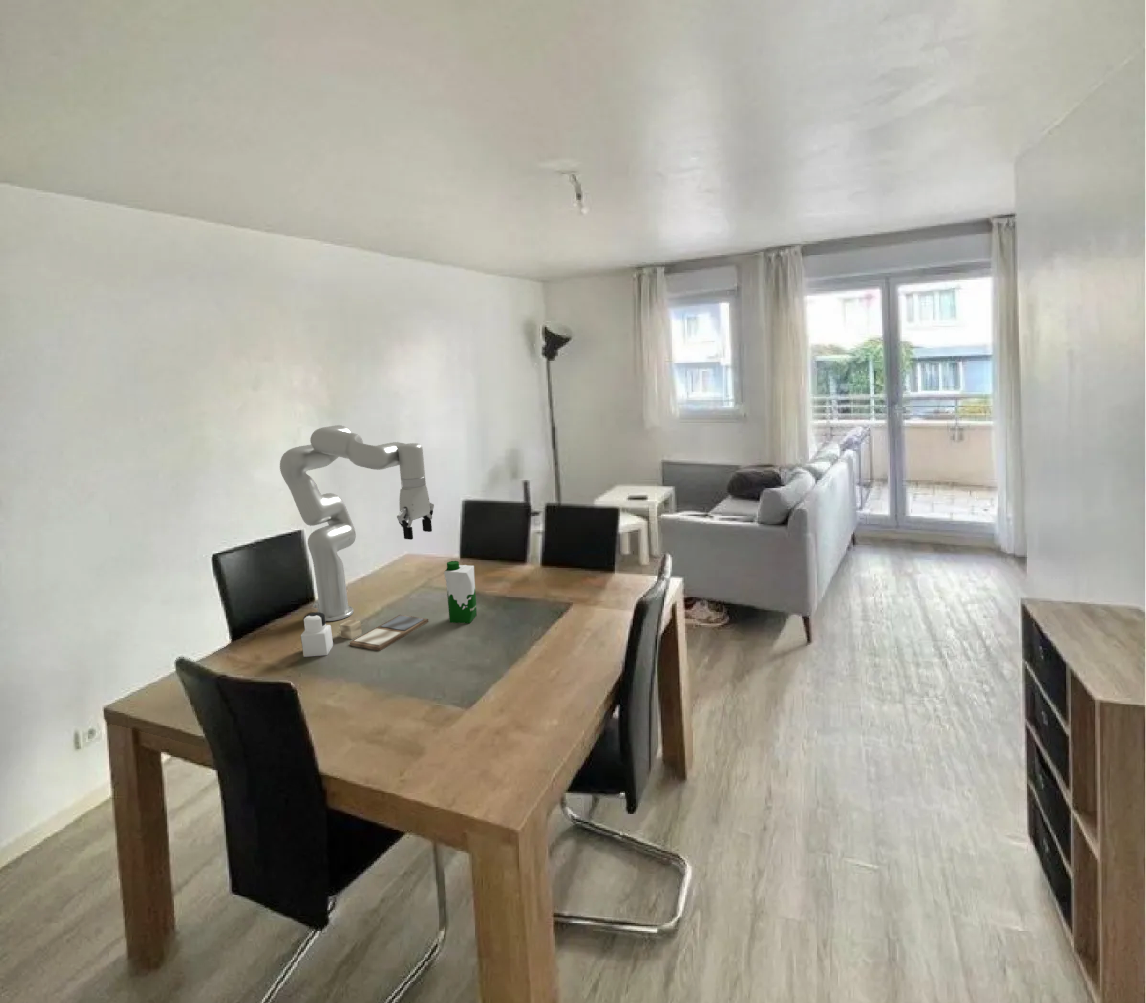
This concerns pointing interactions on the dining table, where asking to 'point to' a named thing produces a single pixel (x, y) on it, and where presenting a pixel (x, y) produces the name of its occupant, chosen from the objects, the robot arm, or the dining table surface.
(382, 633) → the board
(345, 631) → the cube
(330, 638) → the medicine bottle
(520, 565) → the dining table surface
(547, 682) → the dining table surface
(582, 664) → the dining table surface
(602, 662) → the dining table surface
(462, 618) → the fresh milk carton
